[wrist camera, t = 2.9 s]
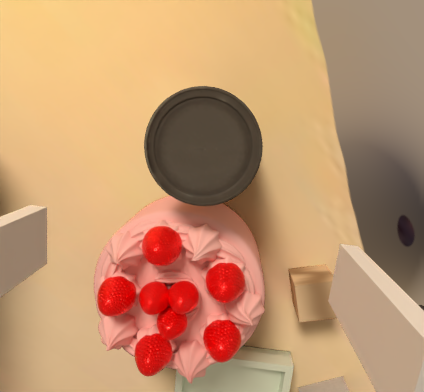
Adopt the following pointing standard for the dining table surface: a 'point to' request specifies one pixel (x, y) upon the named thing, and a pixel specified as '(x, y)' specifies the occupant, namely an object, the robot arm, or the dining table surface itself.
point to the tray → (244, 373)
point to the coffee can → (203, 146)
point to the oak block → (311, 292)
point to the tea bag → (326, 386)
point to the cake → (180, 287)
